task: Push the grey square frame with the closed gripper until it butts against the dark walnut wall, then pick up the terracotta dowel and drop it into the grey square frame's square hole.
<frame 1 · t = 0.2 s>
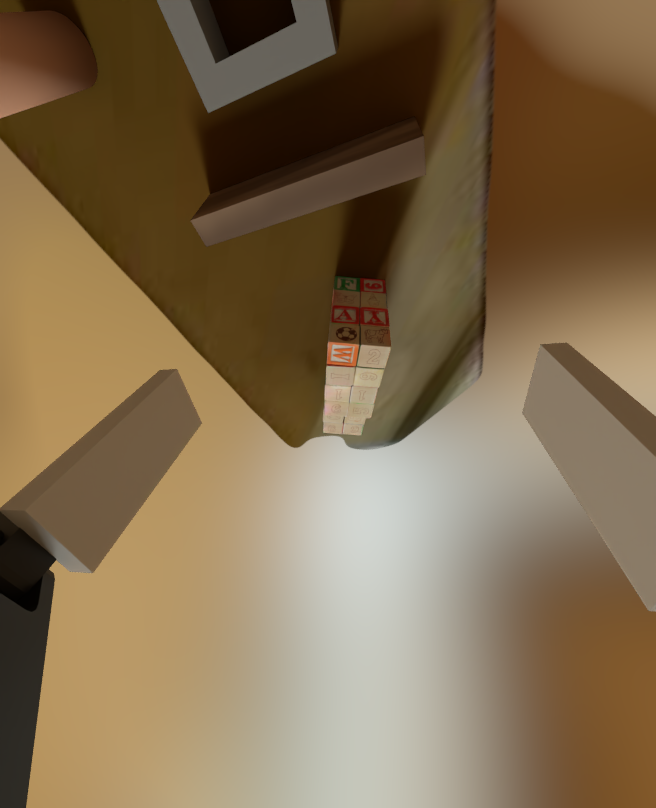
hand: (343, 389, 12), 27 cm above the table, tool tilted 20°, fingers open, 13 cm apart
wall: (306, 174, 29), on the table
stack of blocks: (349, 342, 46), on the table
dowel: (68, 52, 24), on the table
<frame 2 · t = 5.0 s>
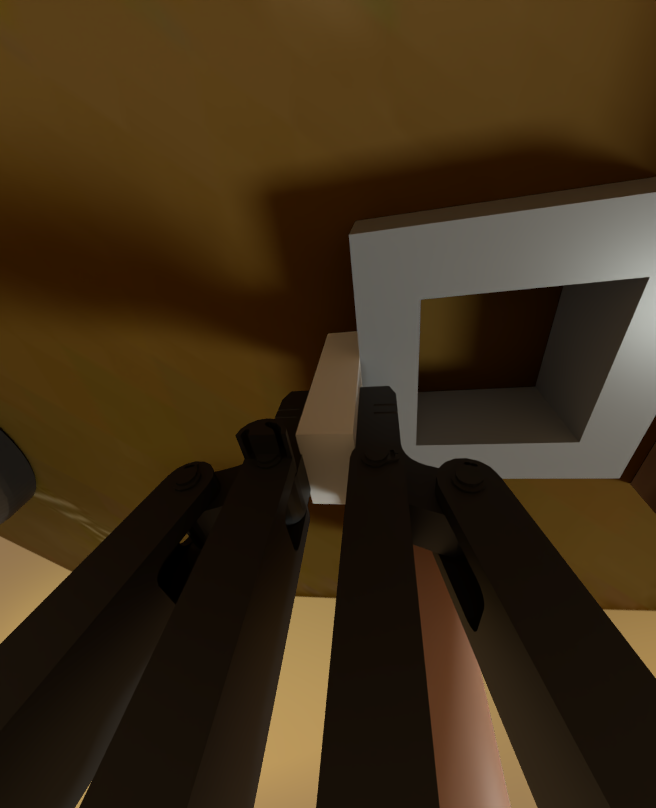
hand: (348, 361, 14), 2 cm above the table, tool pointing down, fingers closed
grey square frame: (477, 333, 14), on the table, touching gripper
dowel: (420, 530, 23), on the table
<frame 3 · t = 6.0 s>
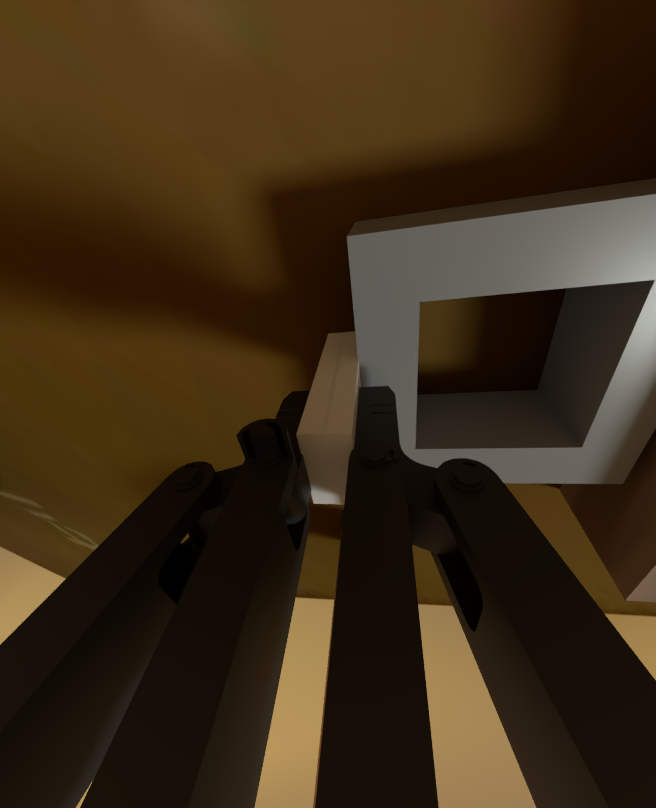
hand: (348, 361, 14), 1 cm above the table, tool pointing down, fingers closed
grey square frame: (478, 335, 14), on the table, touching gripper
dowel: (368, 531, 23), on the table
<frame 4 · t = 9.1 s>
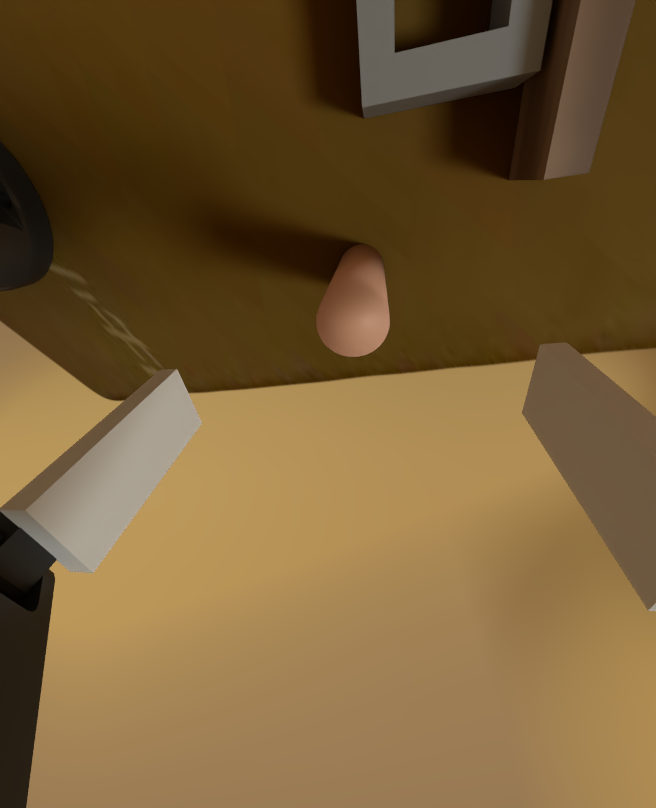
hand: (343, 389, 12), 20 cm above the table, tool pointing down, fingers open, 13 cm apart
dowel: (361, 268, 28), on the table
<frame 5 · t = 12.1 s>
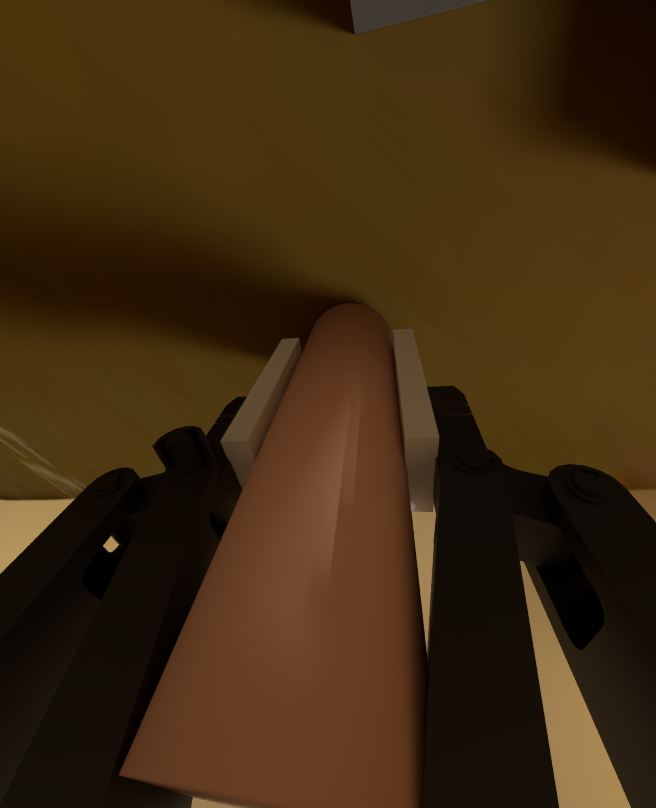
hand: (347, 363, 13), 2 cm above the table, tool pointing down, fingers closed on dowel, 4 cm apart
dowel: (351, 343, 15), on the table, touching gripper
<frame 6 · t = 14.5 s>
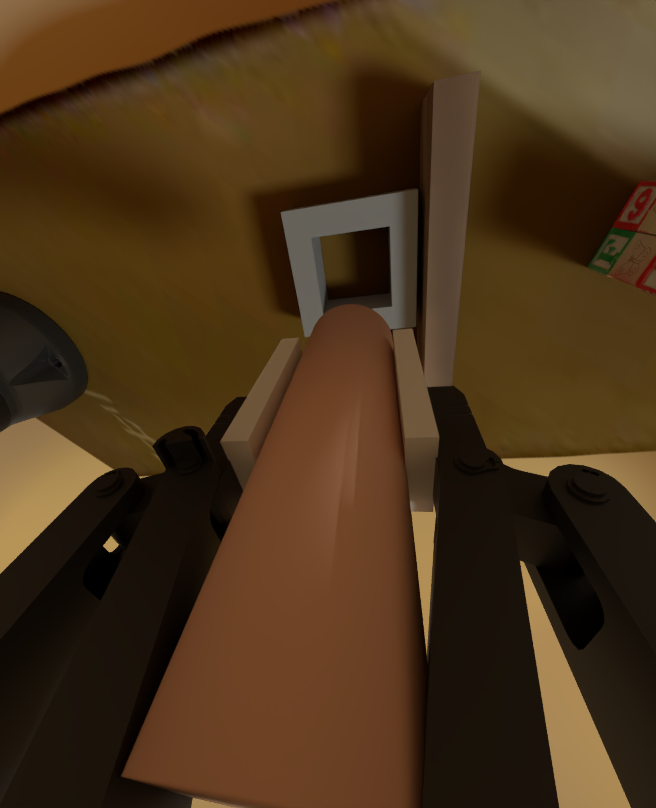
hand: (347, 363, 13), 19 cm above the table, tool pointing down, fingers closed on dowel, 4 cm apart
wall: (432, 255, 27), on the table
grey square frame: (355, 263, 28), on the table
dowel: (351, 344, 15), point 17 cm above the table, touching gripper
when the fingers open (5 cm above the table, at t = 17.3 s): dowel drops 3 cm, resting in grey square frame.
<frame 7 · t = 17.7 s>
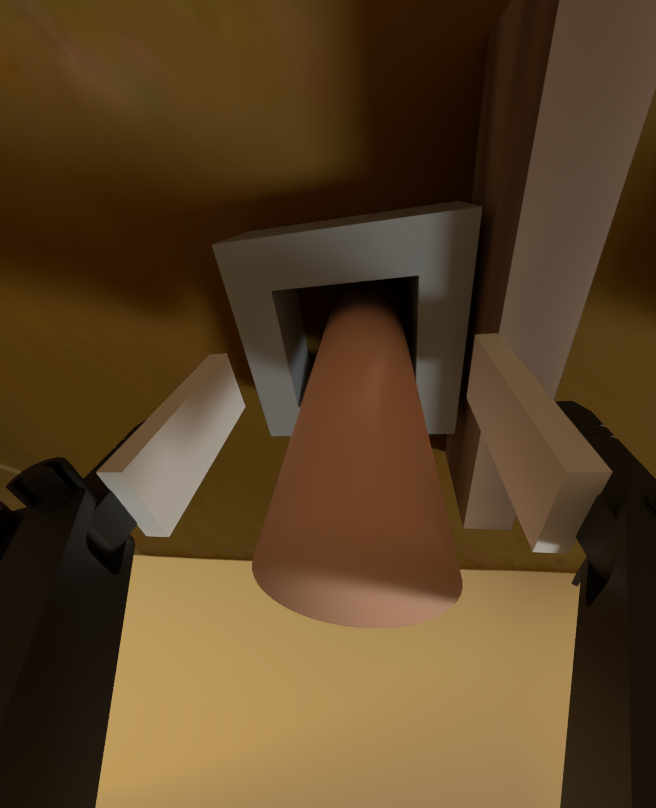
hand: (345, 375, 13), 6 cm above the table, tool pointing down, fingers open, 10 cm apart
wall: (484, 311, 16), on the table
grey square frame: (354, 320, 17), on the table
dowel: (364, 323, 17), resting in grey square frame
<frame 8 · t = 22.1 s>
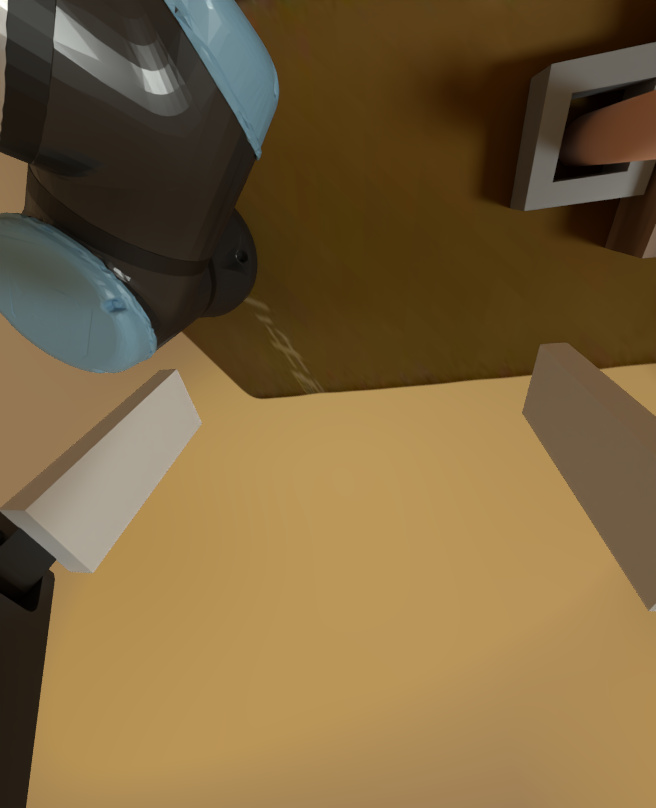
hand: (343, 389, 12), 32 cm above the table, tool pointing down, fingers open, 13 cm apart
grey square frame: (576, 139, 30), on the table
dowel: (581, 140, 30), resting in grey square frame
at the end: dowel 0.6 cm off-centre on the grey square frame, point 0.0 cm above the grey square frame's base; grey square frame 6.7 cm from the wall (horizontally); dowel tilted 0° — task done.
